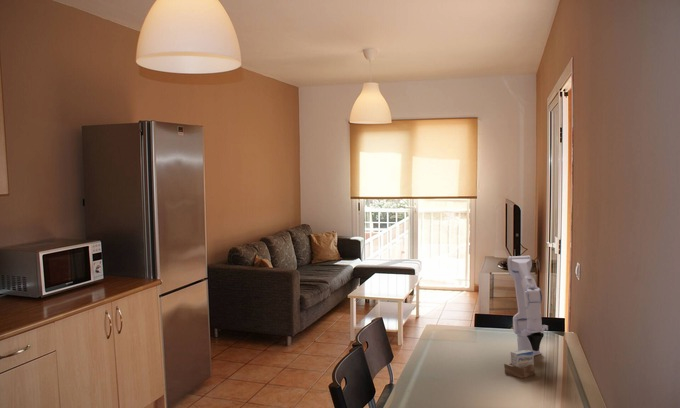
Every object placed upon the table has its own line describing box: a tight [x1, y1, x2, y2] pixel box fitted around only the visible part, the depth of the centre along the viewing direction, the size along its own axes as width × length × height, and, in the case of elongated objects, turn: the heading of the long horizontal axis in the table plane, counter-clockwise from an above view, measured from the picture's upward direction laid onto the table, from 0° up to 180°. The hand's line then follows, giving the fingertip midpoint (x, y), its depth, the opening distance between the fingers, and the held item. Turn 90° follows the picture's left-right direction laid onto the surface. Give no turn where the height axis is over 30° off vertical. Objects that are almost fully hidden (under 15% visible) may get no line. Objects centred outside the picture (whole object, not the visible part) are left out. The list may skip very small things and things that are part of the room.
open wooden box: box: [503, 361, 535, 379], centre depth 219 cm, size 7×9×4 cm
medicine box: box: [510, 349, 535, 368], centre depth 219 cm, size 8×4×9 cm, turn 107°
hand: (535, 350), depth 224 cm, fingers closed
